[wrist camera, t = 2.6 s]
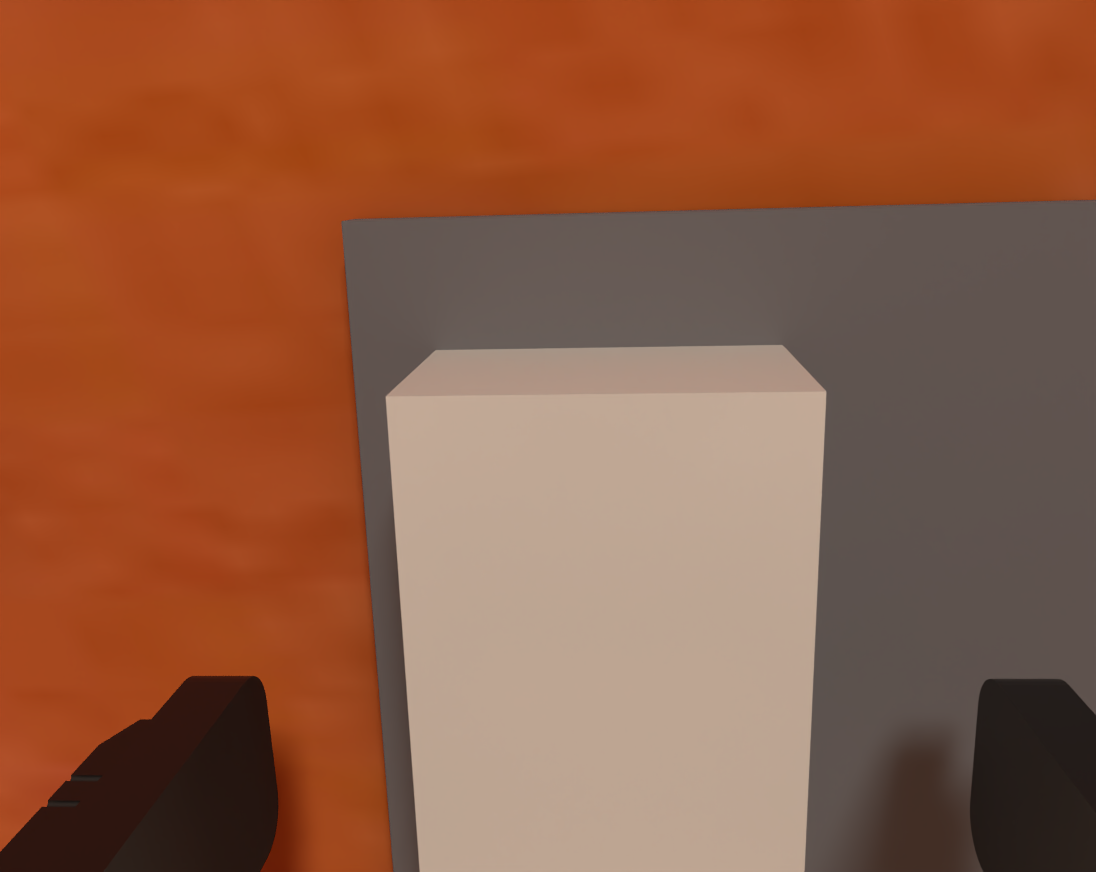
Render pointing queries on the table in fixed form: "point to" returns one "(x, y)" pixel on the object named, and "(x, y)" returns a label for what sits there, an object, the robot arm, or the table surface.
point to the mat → (848, 463)
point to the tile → (609, 605)
